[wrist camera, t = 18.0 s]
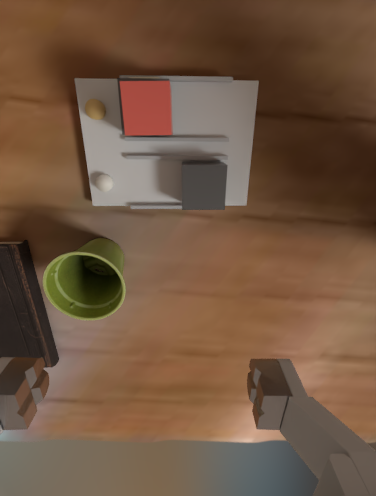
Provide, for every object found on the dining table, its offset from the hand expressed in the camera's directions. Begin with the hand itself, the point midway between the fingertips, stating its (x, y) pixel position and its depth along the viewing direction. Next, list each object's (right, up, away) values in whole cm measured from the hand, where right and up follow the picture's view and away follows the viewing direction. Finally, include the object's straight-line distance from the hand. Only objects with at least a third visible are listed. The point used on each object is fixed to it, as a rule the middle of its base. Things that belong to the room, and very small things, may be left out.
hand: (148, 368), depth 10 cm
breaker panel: (-1, +17, +22) cm, 28 cm away
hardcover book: (-29, -4, +32) cm, 43 cm away
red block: (-2, +18, +16) cm, 24 cm away
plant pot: (-11, +4, +28) cm, 30 cm away
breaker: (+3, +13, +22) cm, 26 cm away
